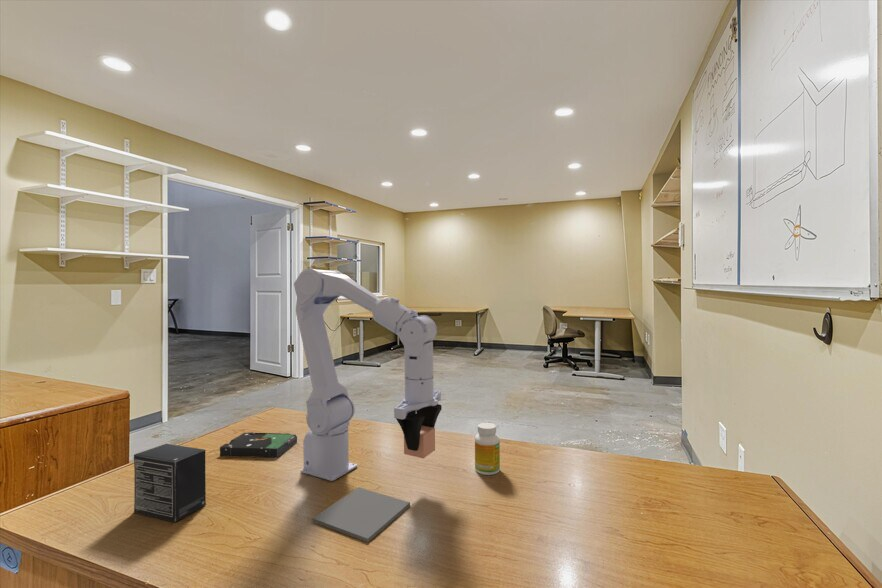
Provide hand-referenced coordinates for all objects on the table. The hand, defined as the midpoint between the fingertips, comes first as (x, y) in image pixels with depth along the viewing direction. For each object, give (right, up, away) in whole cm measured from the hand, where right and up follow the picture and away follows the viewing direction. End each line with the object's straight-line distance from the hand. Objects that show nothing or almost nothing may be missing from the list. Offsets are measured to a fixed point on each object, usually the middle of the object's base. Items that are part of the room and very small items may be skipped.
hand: (419, 444), depth 79 cm
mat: (-10, -9, -9) cm, 16 cm away
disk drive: (-41, -9, +20) cm, 47 cm away
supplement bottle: (+14, -8, +7) cm, 18 cm away
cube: (0, -1, 0) cm, 1 cm away
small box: (-45, -9, -7) cm, 46 cm away
